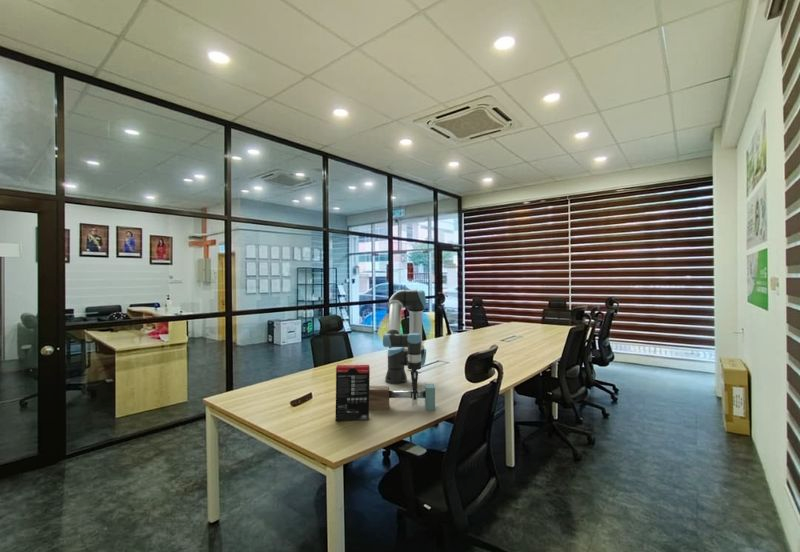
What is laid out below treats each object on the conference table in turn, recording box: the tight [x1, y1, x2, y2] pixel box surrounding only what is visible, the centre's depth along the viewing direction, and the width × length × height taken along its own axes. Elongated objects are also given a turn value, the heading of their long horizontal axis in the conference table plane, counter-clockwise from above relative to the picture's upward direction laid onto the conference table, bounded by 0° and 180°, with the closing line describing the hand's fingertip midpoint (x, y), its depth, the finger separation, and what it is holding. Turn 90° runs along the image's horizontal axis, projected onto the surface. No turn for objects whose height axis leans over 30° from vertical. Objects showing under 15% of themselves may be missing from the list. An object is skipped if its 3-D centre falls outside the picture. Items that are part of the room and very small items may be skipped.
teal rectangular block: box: [424, 383, 436, 411], centre depth 201 cm, size 8×5×12 cm, turn 0°
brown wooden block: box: [369, 385, 390, 411], centre depth 201 cm, size 7×12×11 cm, turn 90°
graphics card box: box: [335, 364, 371, 422], centre depth 185 cm, size 17×7×27 cm, turn 96°
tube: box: [389, 389, 426, 399], centre depth 201 cm, size 26×4×4 cm, turn 90°
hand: (414, 401), depth 201 cm, fingers open, 10 cm apart
